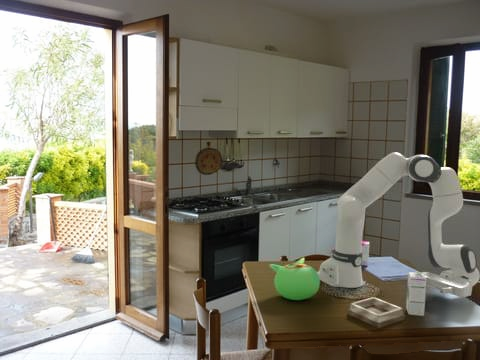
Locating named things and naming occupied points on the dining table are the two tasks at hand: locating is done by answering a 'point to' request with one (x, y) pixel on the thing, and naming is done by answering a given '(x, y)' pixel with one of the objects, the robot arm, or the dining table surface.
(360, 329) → the dining table surface
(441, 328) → the dining table surface
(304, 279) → the toy bird
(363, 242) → the supplement box
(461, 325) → the dining table surface
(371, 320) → the socket stand
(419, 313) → the syrup box
